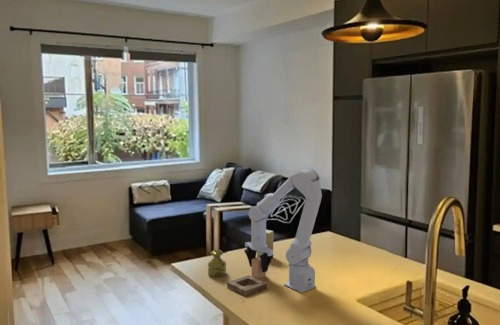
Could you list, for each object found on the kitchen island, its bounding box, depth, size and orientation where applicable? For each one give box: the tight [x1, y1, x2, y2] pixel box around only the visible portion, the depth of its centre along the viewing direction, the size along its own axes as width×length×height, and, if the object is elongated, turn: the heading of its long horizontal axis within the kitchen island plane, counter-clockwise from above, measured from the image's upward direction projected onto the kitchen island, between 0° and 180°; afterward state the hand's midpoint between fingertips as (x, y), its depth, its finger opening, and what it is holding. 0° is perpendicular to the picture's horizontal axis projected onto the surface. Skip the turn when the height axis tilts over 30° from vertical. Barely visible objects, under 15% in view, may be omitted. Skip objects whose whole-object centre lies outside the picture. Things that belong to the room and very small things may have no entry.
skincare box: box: [256, 229, 275, 258], centre depth 197 cm, size 6×4×12 cm
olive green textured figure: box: [207, 248, 227, 278], centre depth 178 cm, size 7×7×10 cm
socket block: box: [226, 274, 268, 297], centre depth 164 cm, size 10×10×2 cm
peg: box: [251, 256, 267, 280], centre depth 175 cm, size 4×4×7 cm
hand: (258, 268), depth 175 cm, fingers open, 7 cm apart
